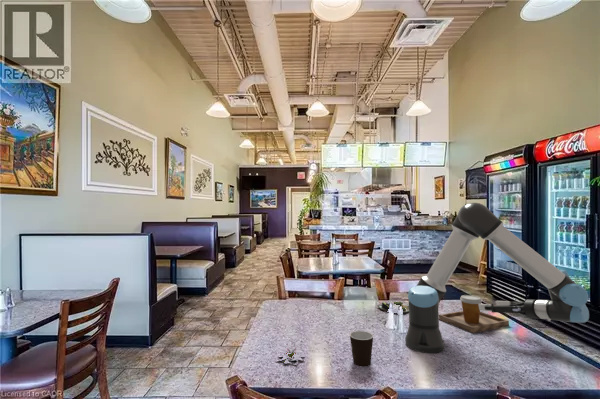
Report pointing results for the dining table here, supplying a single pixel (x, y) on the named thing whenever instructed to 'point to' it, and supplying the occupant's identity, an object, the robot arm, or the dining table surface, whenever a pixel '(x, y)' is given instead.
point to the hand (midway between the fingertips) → (487, 305)
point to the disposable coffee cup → (471, 308)
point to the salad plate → (386, 306)
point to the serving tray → (484, 324)
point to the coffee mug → (361, 347)
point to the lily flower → (291, 353)
